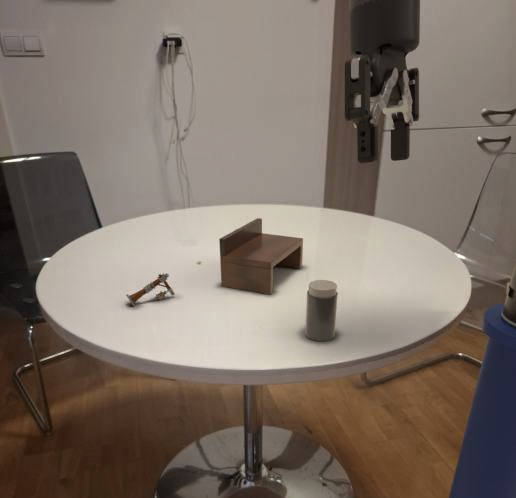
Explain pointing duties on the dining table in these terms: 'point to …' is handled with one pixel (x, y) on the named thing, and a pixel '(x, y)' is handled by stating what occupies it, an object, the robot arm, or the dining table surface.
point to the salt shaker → (321, 310)
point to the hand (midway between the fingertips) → (384, 161)
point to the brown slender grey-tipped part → (149, 287)
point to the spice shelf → (256, 257)
